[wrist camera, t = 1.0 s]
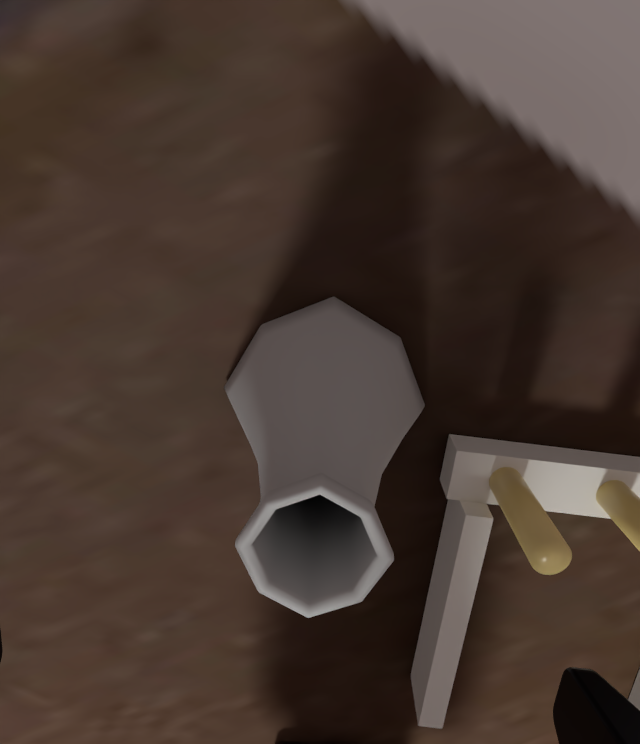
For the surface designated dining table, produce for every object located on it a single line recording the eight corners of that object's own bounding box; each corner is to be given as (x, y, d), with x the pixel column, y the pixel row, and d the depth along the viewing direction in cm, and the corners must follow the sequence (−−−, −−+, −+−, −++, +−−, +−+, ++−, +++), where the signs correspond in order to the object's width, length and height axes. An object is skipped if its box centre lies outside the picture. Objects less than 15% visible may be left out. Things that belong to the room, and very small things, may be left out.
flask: (337, 259, 20) (337, 316, 10) (456, 406, 21) (555, 576, 12) (192, 381, 21) (72, 531, 12) (313, 510, 23) (296, 736, 13)
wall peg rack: (659, 704, 25) (755, 854, 19) (399, 674, 25) (418, 815, 19) (752, 470, 21) (904, 568, 16) (448, 433, 21) (489, 519, 16)
